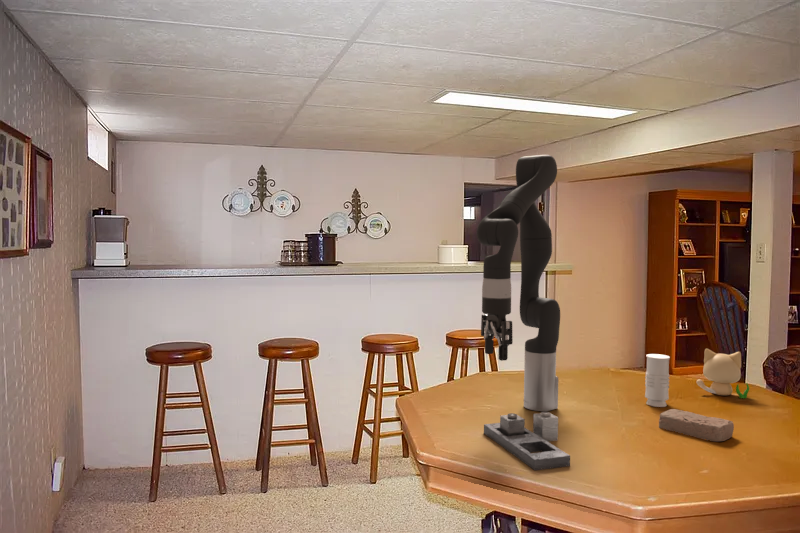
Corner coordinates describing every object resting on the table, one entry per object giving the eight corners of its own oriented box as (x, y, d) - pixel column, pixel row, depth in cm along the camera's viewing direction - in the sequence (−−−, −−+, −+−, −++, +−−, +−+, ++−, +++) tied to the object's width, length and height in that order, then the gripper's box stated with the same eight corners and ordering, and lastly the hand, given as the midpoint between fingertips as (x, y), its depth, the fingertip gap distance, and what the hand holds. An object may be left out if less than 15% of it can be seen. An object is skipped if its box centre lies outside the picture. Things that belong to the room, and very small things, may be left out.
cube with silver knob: (548, 434, 159) (548, 409, 159) (557, 440, 155) (558, 414, 155) (533, 436, 158) (533, 411, 158) (542, 442, 154) (542, 416, 153)
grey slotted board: (514, 430, 163) (514, 421, 163) (570, 466, 138) (570, 455, 138) (483, 433, 160) (483, 424, 160) (534, 470, 135) (535, 459, 135)
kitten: (749, 394, 201) (751, 349, 200) (747, 401, 192) (749, 354, 191) (699, 388, 209) (701, 344, 208) (695, 394, 200) (697, 349, 199)
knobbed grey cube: (515, 436, 158) (516, 411, 157) (524, 442, 153) (524, 416, 153) (499, 438, 156) (500, 412, 156) (508, 444, 152) (508, 418, 151)
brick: (657, 428, 166) (657, 411, 166) (671, 422, 171) (672, 406, 171) (720, 445, 153) (721, 427, 153) (734, 438, 159) (735, 420, 159)
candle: (644, 405, 187) (645, 357, 186) (644, 400, 193) (646, 353, 192) (668, 408, 184) (670, 359, 183) (668, 402, 191) (669, 355, 190)
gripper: (522, 298, 153) (521, 361, 154) (498, 292, 167) (497, 350, 168) (495, 298, 151) (494, 363, 152) (472, 293, 165) (472, 352, 166)
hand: (495, 356), depth 160 cm, fingers open, 8 cm apart
